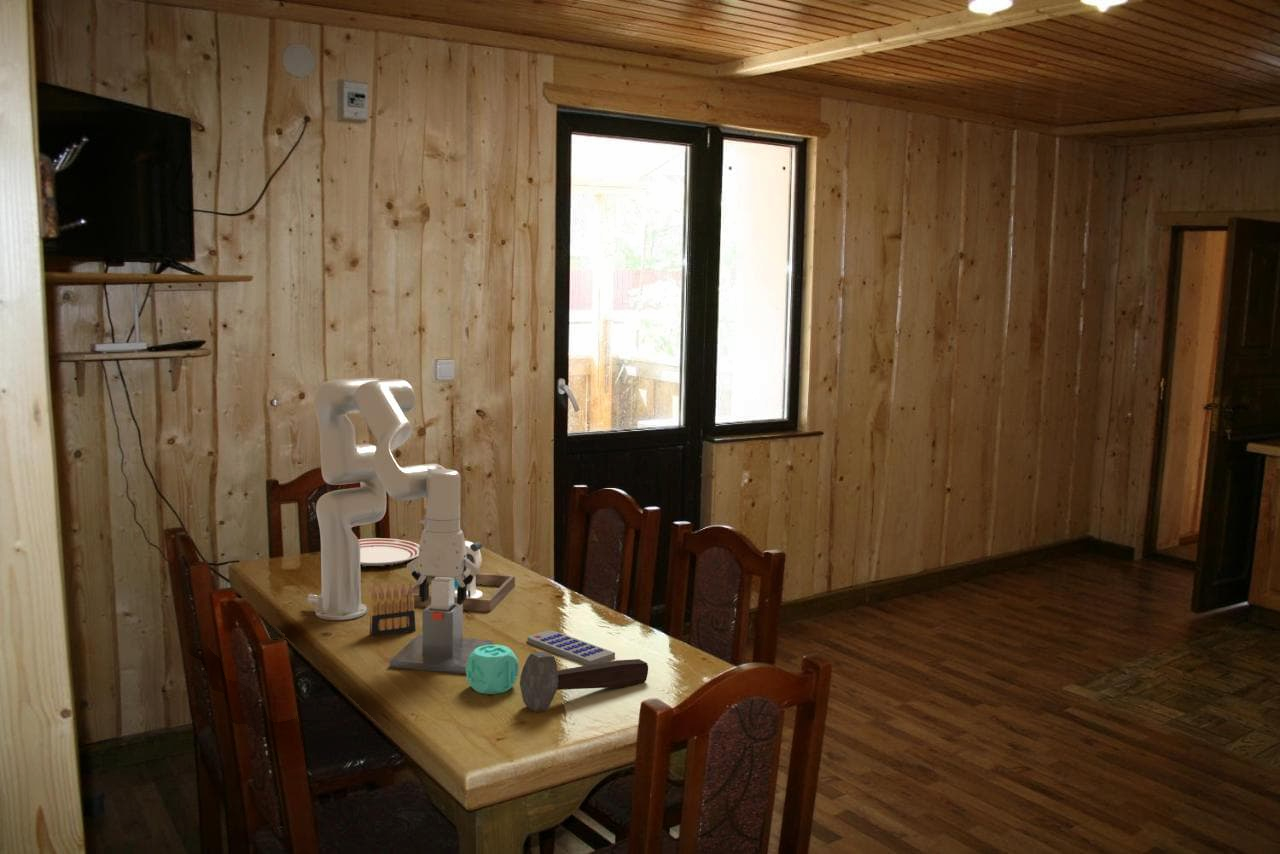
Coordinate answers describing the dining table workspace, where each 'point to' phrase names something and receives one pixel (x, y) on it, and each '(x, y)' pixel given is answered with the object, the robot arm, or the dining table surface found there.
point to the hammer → (574, 678)
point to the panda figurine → (474, 557)
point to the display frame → (475, 603)
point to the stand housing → (439, 644)
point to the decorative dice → (492, 669)
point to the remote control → (570, 647)
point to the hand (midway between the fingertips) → (442, 601)
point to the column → (442, 594)
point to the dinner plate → (386, 551)
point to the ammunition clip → (392, 612)
